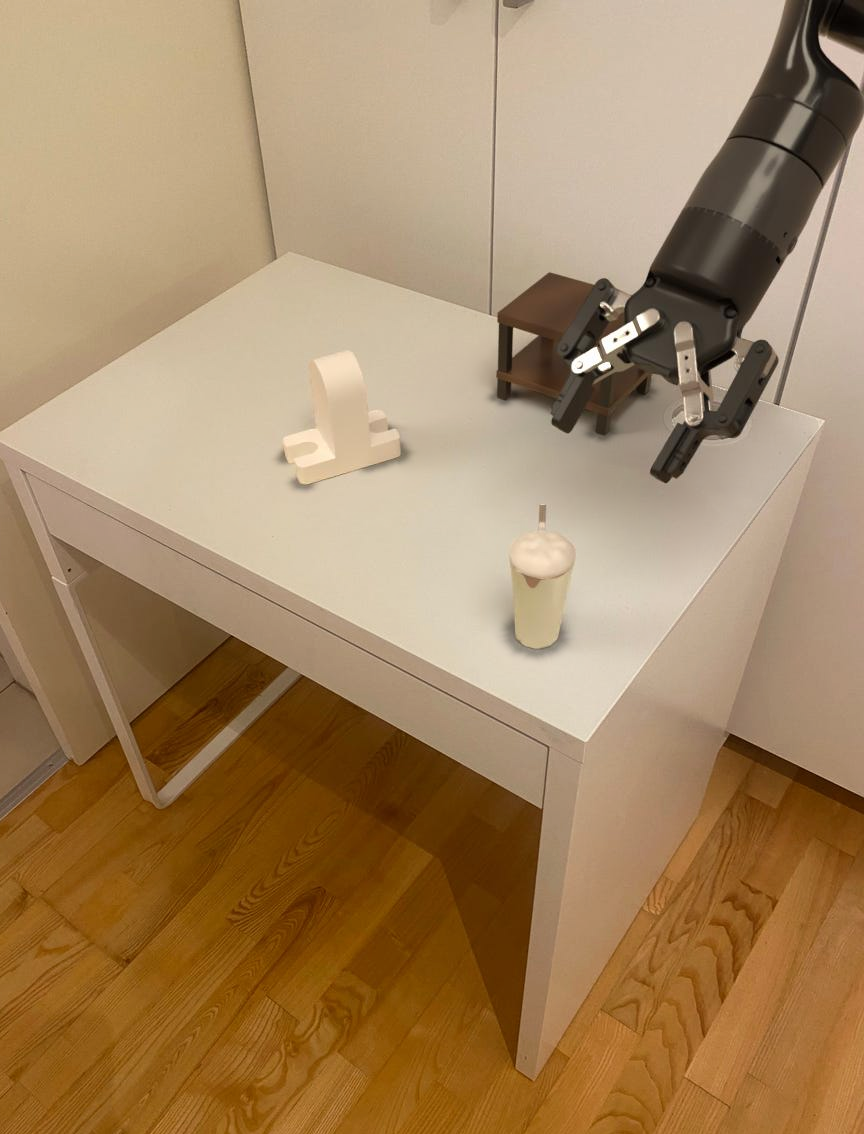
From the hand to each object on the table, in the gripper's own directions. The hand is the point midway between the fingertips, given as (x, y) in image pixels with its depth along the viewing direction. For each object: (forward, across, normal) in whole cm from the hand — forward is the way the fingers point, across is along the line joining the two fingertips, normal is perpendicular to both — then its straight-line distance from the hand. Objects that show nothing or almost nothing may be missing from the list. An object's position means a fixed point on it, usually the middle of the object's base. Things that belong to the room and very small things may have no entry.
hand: (607, 453), depth 69 cm
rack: (-5, -18, +23) cm, 30 cm away
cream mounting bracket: (+10, -28, +8) cm, 31 cm away
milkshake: (+14, 0, +4) cm, 14 cm away
